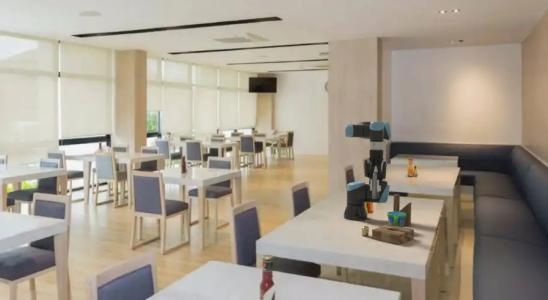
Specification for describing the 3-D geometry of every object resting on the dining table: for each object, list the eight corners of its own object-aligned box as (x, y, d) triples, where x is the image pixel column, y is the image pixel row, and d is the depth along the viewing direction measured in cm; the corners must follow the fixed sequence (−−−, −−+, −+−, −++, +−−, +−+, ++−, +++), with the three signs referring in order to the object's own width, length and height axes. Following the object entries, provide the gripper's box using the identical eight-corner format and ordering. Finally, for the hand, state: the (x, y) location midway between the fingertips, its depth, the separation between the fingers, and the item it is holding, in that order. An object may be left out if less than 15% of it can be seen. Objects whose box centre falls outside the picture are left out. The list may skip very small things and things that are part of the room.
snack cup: (403, 235, 248) (404, 216, 248) (384, 232, 253) (384, 215, 252) (407, 228, 263) (408, 211, 262) (389, 226, 267) (389, 209, 266)
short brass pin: (364, 234, 249) (364, 225, 249) (369, 235, 246) (369, 226, 246) (360, 235, 246) (360, 226, 246) (366, 237, 244) (366, 227, 243)
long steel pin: (374, 197, 255) (374, 171, 254) (379, 198, 253) (380, 172, 251) (370, 198, 252) (371, 172, 251) (376, 199, 250) (377, 172, 249)
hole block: (386, 233, 252) (387, 224, 251) (413, 238, 241) (413, 229, 241) (371, 238, 240) (372, 229, 240) (399, 244, 229) (399, 235, 229)
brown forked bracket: (408, 226, 268) (409, 196, 267) (391, 223, 275) (392, 194, 274) (410, 225, 271) (411, 195, 269) (394, 222, 278) (395, 193, 276)
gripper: (359, 148, 253) (359, 189, 255) (386, 150, 242) (385, 193, 244) (366, 148, 259) (366, 188, 261) (393, 149, 247) (392, 191, 249)
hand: (375, 190), depth 252 cm, fingers closed on long steel pin, 4 cm apart
